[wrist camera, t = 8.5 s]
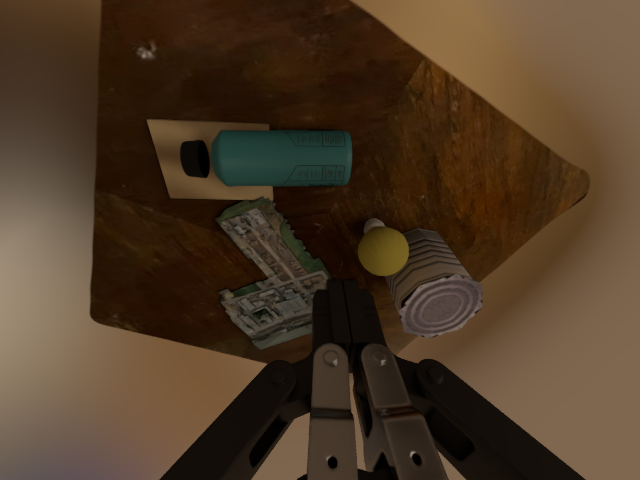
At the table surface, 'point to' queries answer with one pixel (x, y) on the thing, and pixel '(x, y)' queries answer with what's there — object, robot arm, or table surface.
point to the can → (433, 287)
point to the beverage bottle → (272, 157)
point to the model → (271, 275)
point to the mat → (182, 186)
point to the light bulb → (382, 249)
